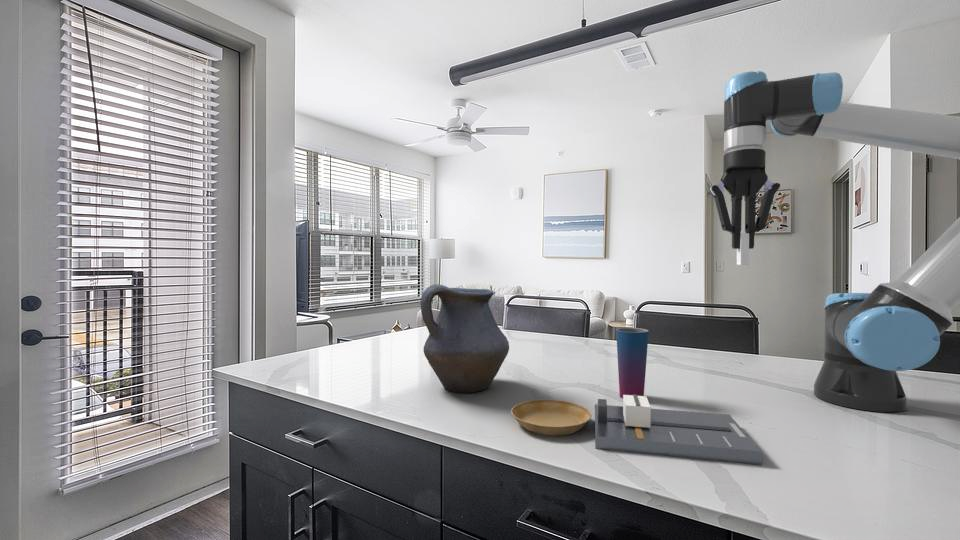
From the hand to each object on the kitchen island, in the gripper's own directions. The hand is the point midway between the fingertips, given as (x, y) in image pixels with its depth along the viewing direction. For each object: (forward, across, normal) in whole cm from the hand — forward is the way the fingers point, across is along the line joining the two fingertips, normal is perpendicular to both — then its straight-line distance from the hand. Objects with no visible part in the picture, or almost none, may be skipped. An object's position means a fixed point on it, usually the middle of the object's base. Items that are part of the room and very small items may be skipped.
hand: (742, 264), depth 93 cm
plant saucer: (+30, +38, +21) cm, 53 cm away
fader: (+27, +23, +22) cm, 42 cm away
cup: (+30, +22, +1) cm, 37 cm away
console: (+29, +18, +22) cm, 41 cm away
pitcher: (+30, +60, +3) cm, 67 cm away
